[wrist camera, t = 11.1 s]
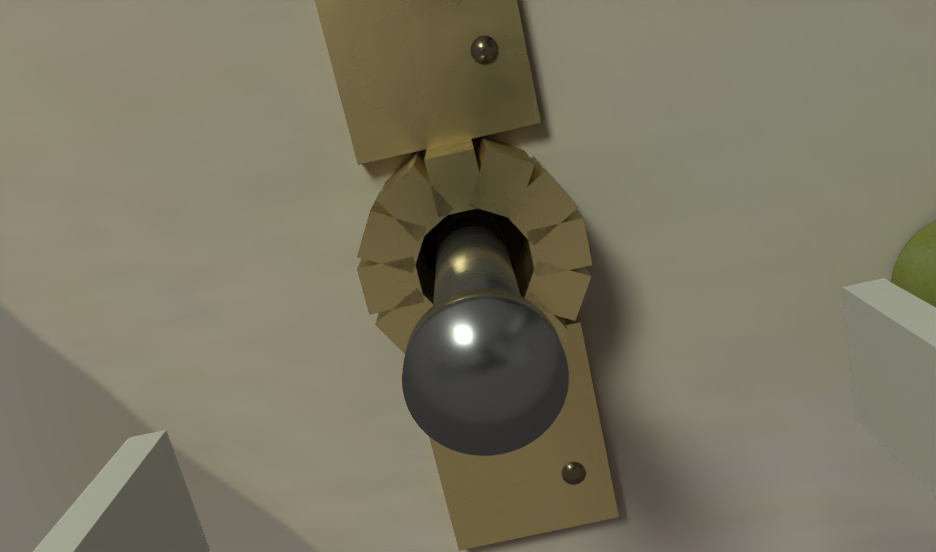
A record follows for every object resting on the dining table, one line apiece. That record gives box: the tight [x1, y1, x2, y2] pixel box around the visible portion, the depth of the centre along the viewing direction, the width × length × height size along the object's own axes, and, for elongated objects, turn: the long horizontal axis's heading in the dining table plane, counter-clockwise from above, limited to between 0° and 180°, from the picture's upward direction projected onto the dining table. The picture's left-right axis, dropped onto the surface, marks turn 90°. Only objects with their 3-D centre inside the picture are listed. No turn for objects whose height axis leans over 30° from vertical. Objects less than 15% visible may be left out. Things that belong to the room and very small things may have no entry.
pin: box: [402, 209, 569, 456], centre depth 25 cm, size 4×4×14 cm
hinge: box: [315, 0, 619, 551], centre depth 30 cm, size 26×8×4 cm, turn 13°
